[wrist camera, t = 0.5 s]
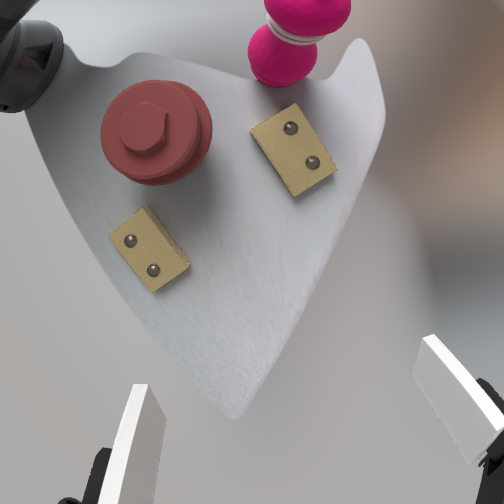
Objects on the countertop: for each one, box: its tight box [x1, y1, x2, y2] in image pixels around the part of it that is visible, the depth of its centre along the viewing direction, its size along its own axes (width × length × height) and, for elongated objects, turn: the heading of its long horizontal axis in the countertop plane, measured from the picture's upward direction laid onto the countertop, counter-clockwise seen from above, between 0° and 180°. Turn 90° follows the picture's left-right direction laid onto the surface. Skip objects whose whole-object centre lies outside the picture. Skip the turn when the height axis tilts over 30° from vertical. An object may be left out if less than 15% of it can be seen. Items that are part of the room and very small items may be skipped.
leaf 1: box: [109, 205, 190, 293], centre depth 33 cm, size 9×6×2 cm, turn 34°
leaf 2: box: [250, 103, 338, 197], centre depth 30 cm, size 9×6×2 cm, turn 34°
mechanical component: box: [101, 80, 212, 186], centre depth 24 cm, size 12×10×10 cm
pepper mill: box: [248, 0, 351, 87], centre depth 18 cm, size 7×7×20 cm
